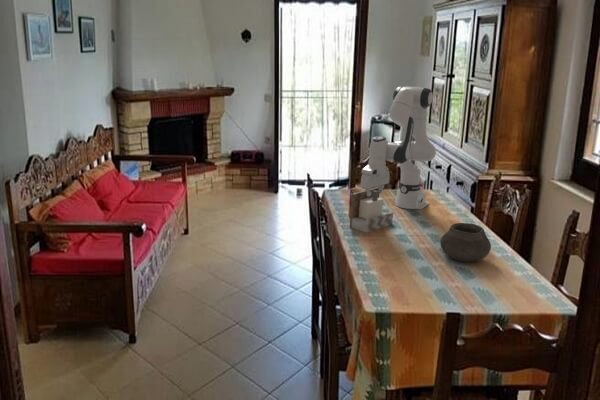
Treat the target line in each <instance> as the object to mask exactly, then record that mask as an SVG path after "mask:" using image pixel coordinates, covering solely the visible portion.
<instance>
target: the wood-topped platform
mask: <svg viewBox="0 0 600 400" xmlns="http://www.w3.org/2000/svg"><path fill="white" fill-rule="evenodd" d="M379 188H380V186H377V187H373V188H371V190H370V193H371V196H367V192H366V189H364V191H361V192H357V193H353V194H352V198H351V213H350V215H349V227H350V228H352V229H355V230H358V231H360V232H364V233H366V234H367V233H370V232H373V231H376V230H379V229H382V228H384V227H387V226H390V225H392V224H393V219H394V212H393V211H391V212H384V211H382V215H381V216H377V217H374V218H371V219H365V218H361V217H359V206H360V200H363V199H366V198H370V197H372V195H373V191H378V189H379ZM378 198H380V193H378Z"/></svg>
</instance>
